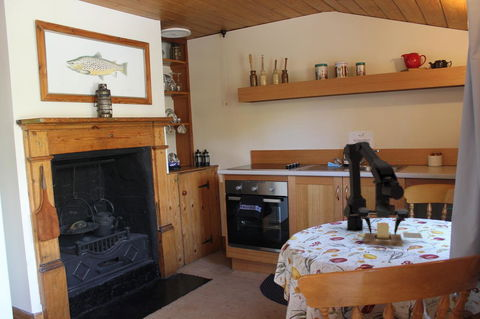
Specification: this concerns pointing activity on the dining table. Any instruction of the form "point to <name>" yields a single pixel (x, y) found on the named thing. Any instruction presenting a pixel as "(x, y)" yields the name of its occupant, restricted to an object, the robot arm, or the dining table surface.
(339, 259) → the dining table surface
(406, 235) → the grey square plate
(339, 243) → the dining table surface
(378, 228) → the peg block
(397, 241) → the rack plate
